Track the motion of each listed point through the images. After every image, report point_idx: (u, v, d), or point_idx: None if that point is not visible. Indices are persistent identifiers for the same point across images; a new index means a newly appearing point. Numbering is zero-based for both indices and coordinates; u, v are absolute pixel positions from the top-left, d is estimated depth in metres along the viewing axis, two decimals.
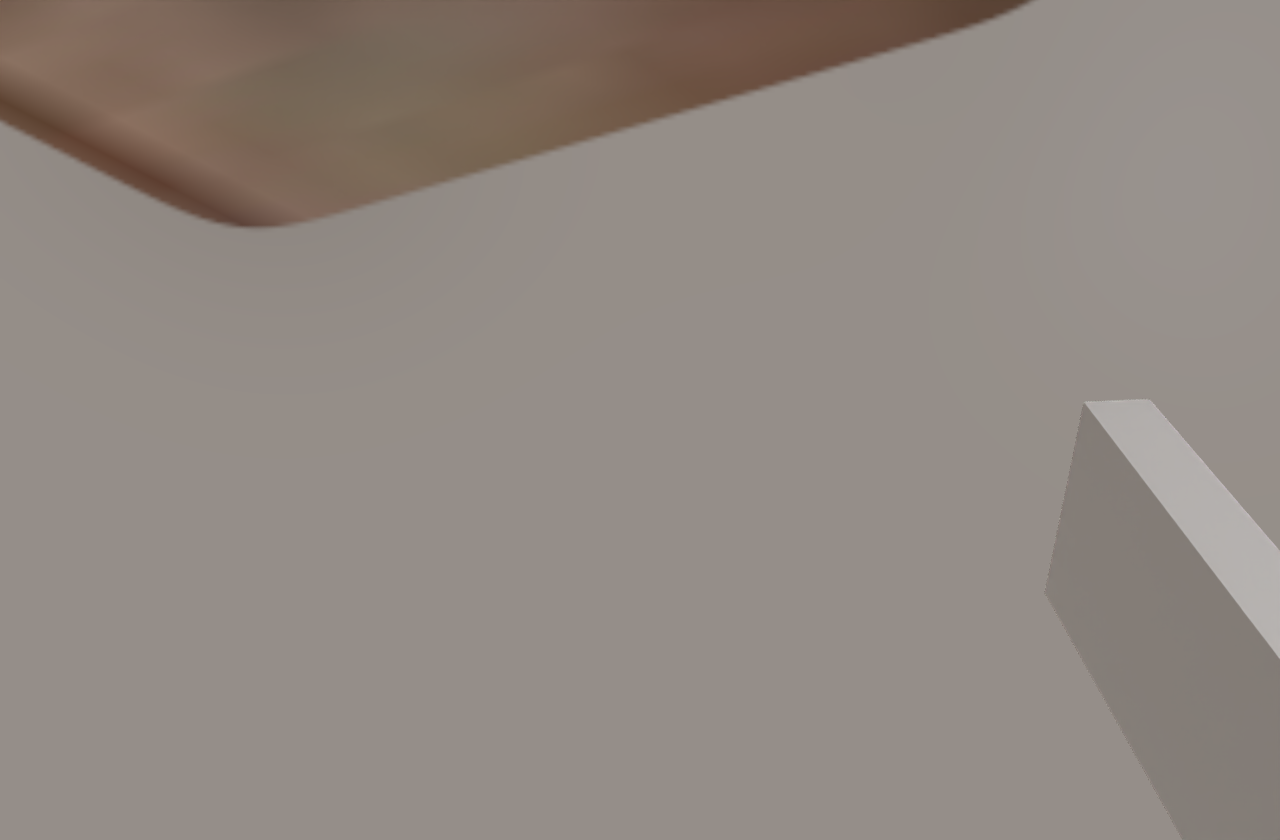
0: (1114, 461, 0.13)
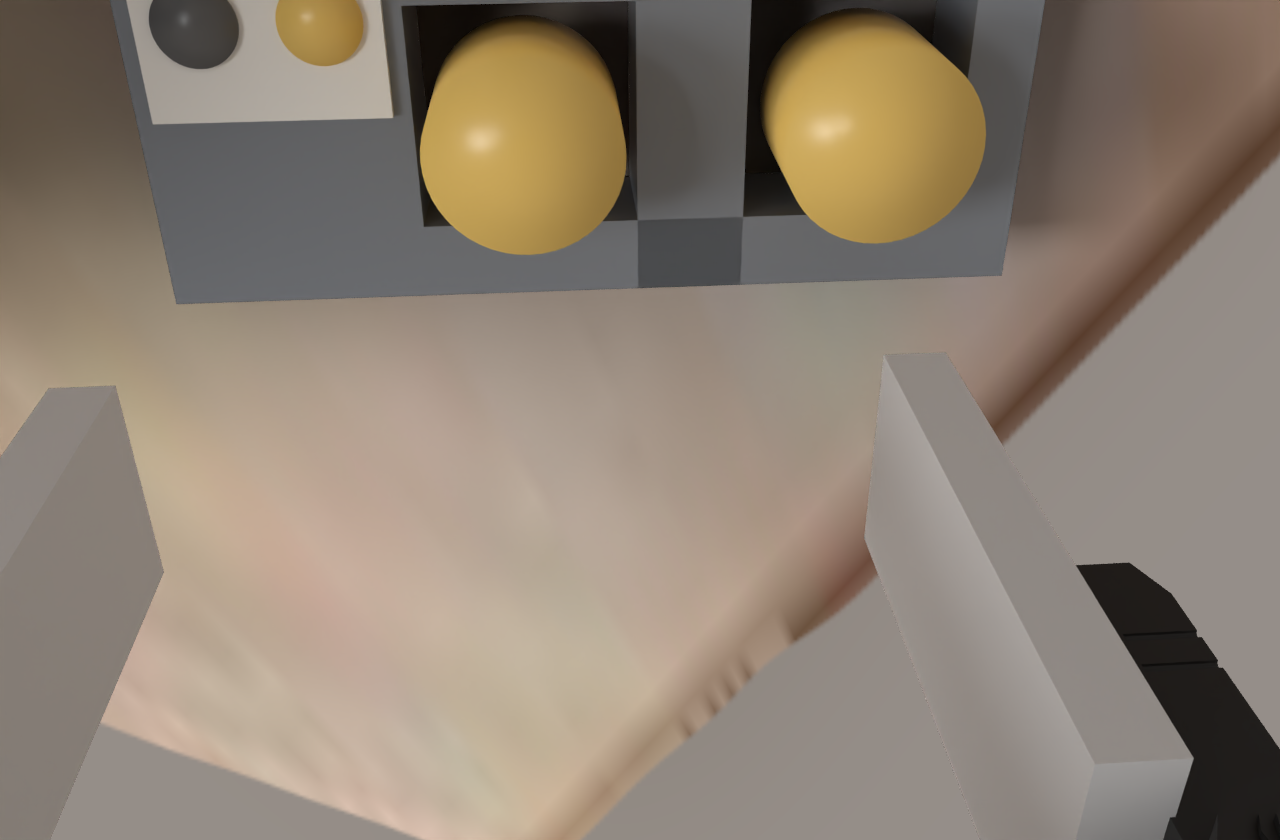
0: (901, 407, 0.14)
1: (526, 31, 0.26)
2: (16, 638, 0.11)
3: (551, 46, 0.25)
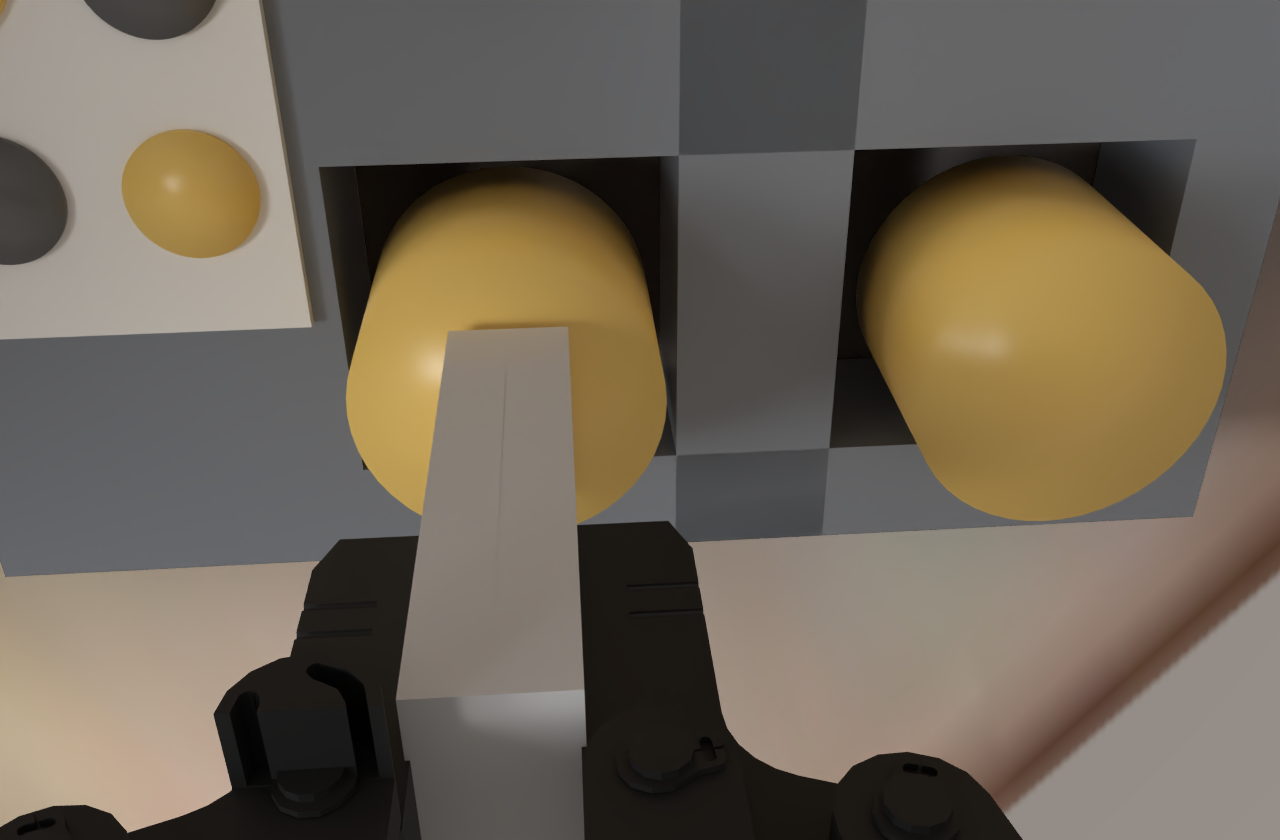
0: (507, 377, 0.15)
1: (511, 203, 0.17)
2: None
3: (550, 233, 0.16)
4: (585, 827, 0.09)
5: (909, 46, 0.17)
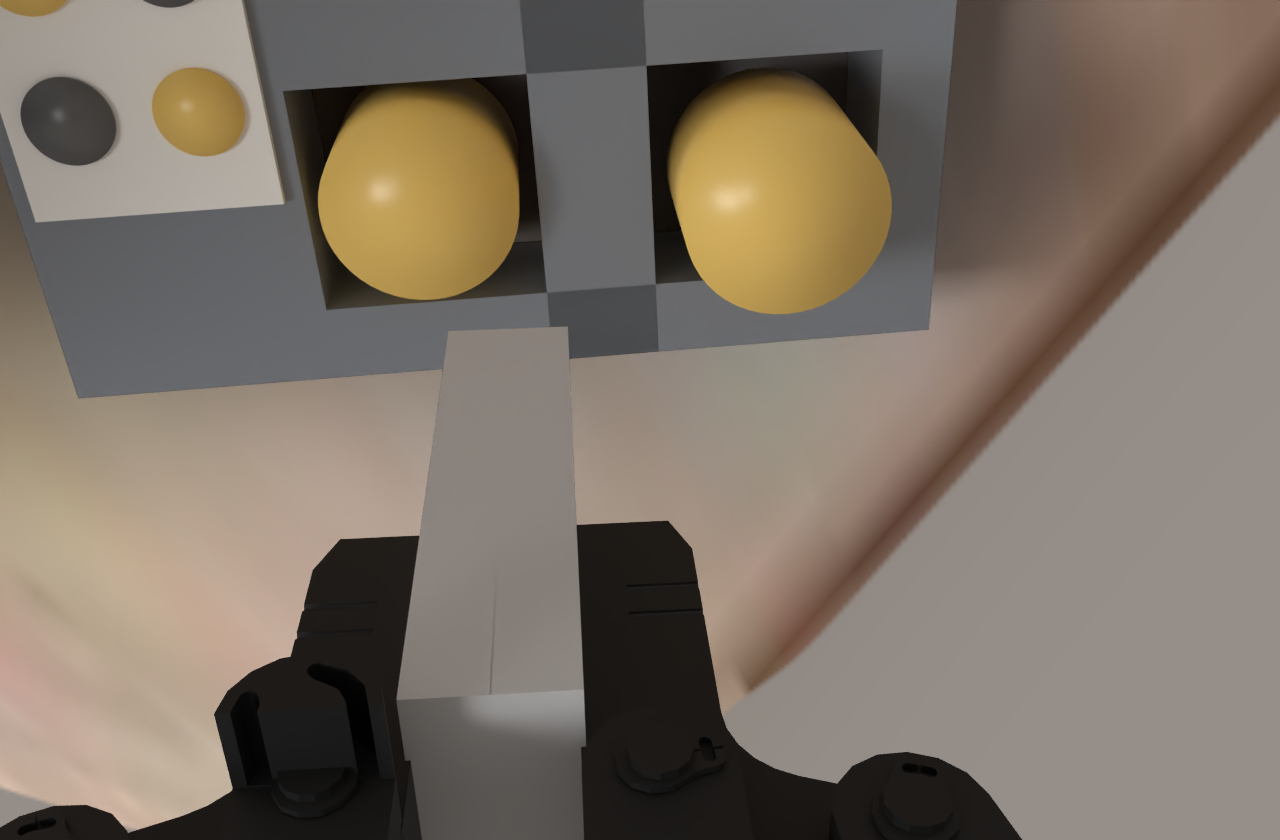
0: (507, 377, 0.15)
1: (418, 84, 0.27)
2: None
3: (441, 99, 0.26)
4: (584, 828, 0.09)
5: None
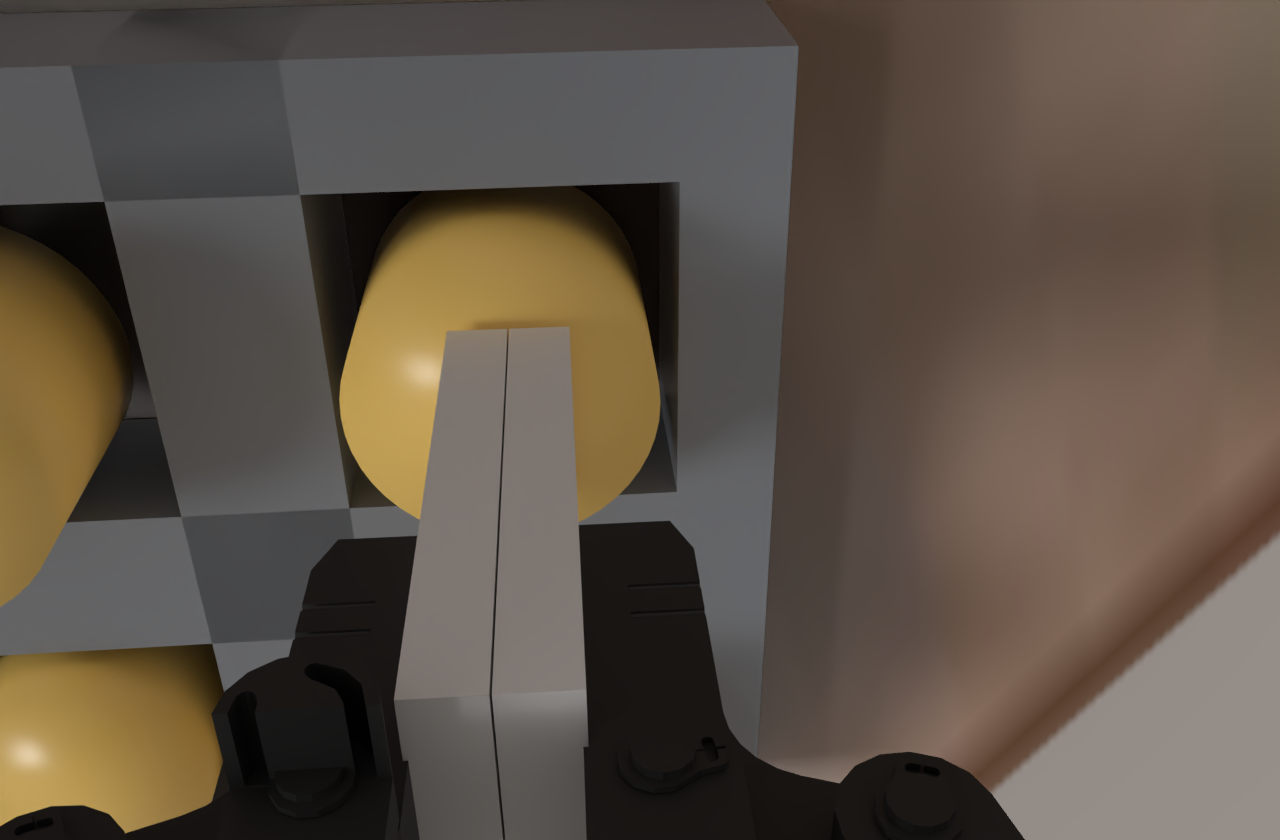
0: (507, 377, 0.15)
1: None
2: None
3: (108, 658, 0.20)
4: (587, 827, 0.09)
5: None
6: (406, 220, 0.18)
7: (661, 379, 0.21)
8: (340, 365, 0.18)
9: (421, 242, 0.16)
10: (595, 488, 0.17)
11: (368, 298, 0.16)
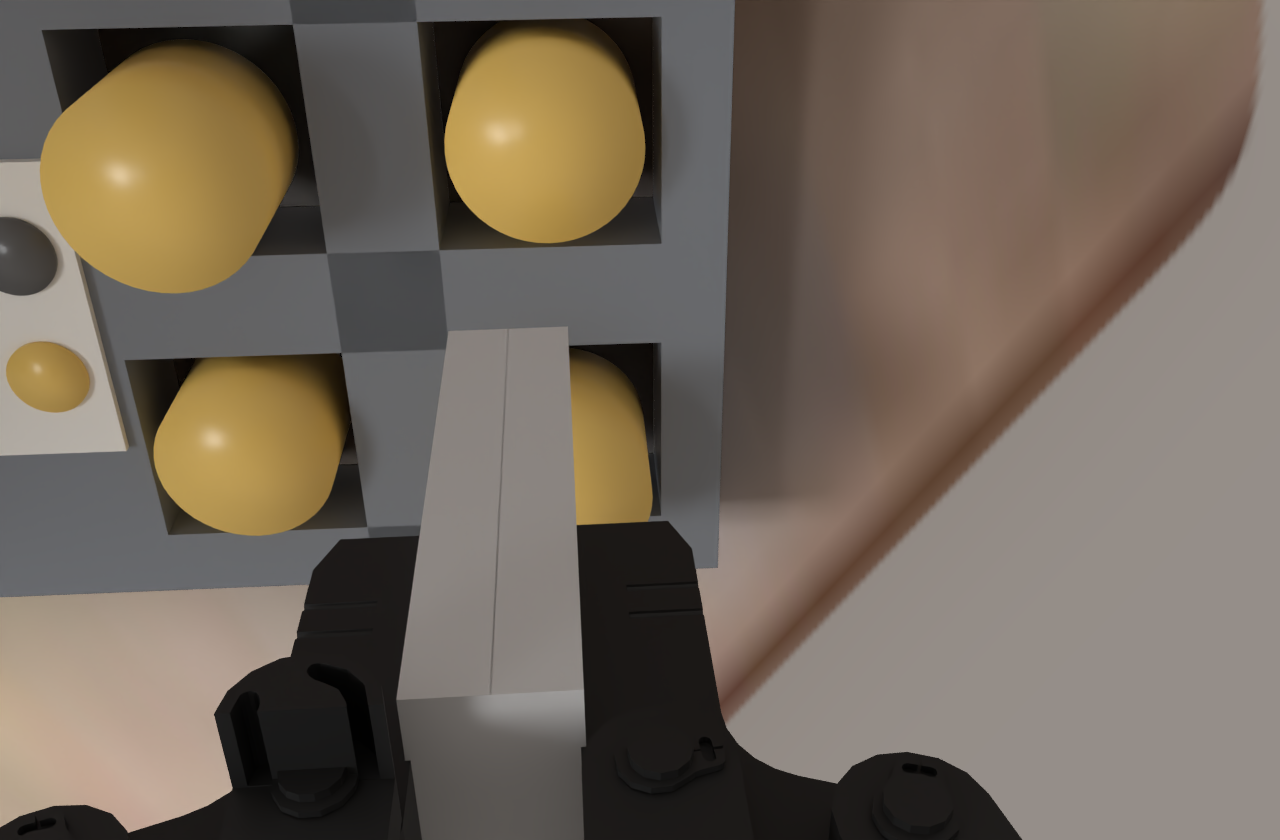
0: (507, 377, 0.15)
1: None
2: None
3: (268, 367, 0.29)
4: (584, 827, 0.09)
5: (471, 293, 0.28)
6: (483, 40, 0.27)
7: (653, 181, 0.30)
8: (435, 152, 0.27)
9: (495, 44, 0.26)
10: (603, 208, 0.26)
11: (462, 80, 0.26)
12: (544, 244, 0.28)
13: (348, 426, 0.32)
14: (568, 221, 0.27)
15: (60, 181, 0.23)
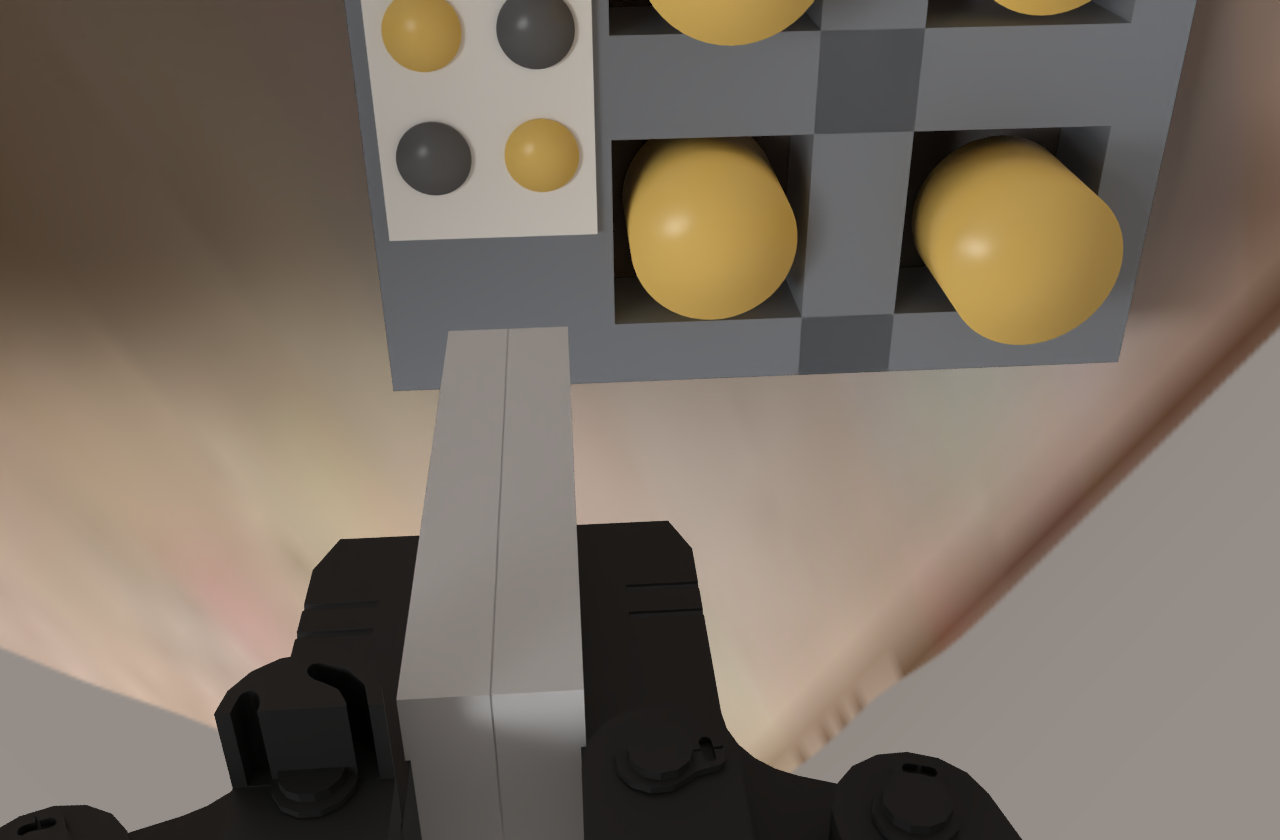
0: (507, 377, 0.15)
1: (712, 137, 0.31)
2: None
3: (736, 151, 0.31)
4: (584, 827, 0.09)
5: (946, 72, 0.30)
6: None
7: None
8: None
9: None
10: None
11: None
12: (1020, 24, 0.29)
13: None
14: None
15: None
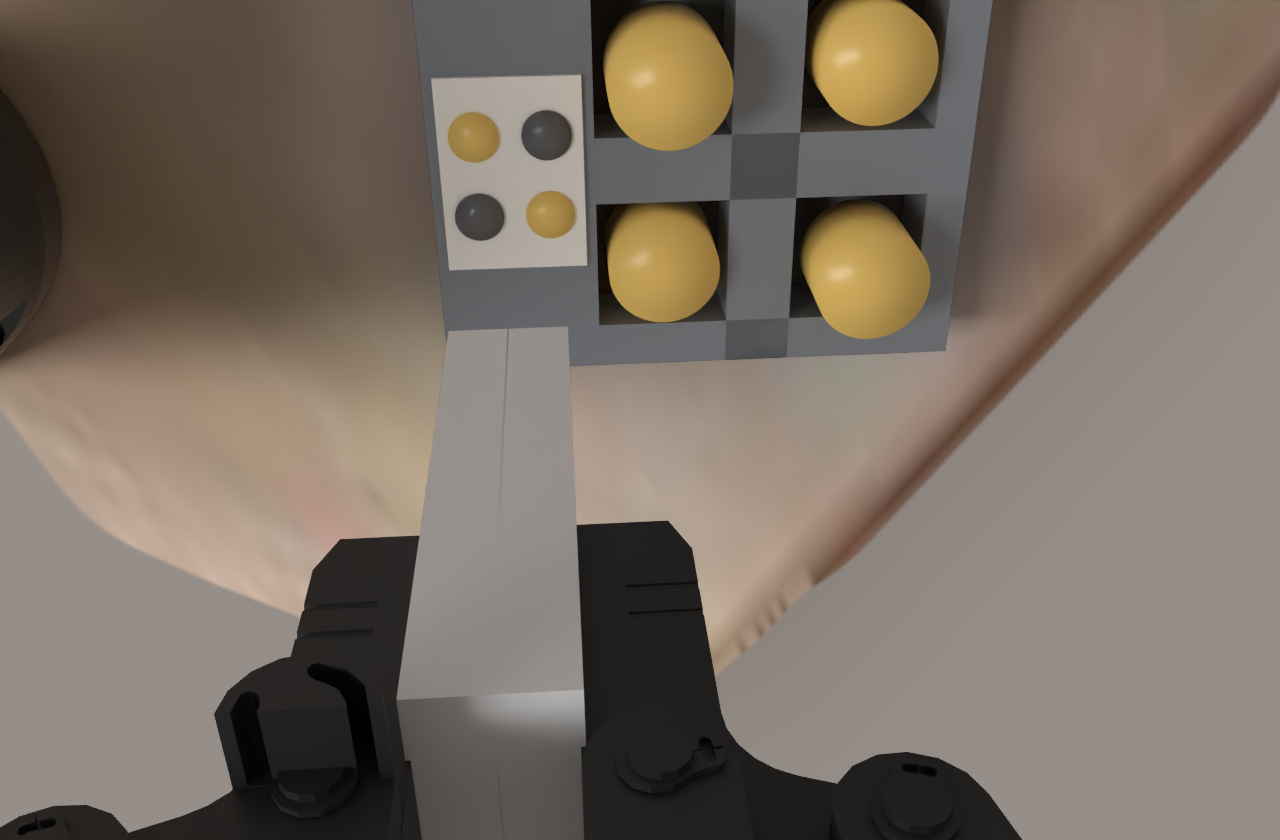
0: (507, 377, 0.15)
1: None
2: None
3: (679, 211, 0.46)
4: (585, 827, 0.09)
5: (815, 160, 0.45)
6: (829, 2, 0.44)
7: None
8: None
9: (847, 4, 0.43)
10: (908, 103, 0.44)
11: (827, 25, 0.43)
12: (862, 129, 0.45)
13: None
14: (886, 112, 0.44)
15: (619, 81, 0.40)
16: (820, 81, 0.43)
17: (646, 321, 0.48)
